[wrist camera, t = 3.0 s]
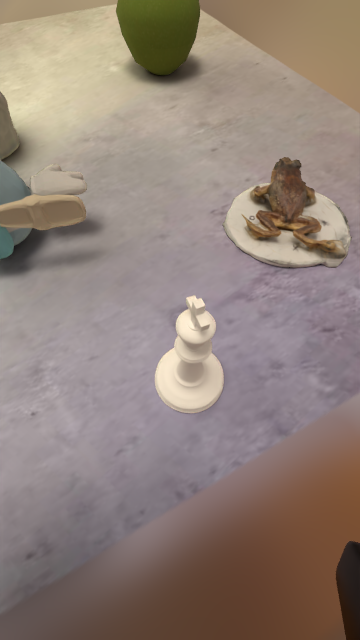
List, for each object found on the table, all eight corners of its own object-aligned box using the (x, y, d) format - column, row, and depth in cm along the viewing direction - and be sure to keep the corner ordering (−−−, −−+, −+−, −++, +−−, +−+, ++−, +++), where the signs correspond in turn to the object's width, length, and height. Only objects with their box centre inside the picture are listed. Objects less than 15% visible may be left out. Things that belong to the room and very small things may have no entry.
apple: (146, 46, 49) (140, -51, 40) (209, 61, 47) (217, -38, 38) (109, 77, 44) (93, -26, 36) (176, 95, 42) (177, -10, 33)
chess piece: (170, 425, 21) (167, 372, 12) (145, 361, 23) (128, 278, 15) (235, 396, 22) (275, 330, 14) (205, 338, 24) (223, 248, 16)
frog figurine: (217, 183, 33) (221, 148, 30) (329, 183, 34) (346, 148, 30) (228, 269, 28) (235, 238, 24) (363, 268, 28) (388, 237, 25)
